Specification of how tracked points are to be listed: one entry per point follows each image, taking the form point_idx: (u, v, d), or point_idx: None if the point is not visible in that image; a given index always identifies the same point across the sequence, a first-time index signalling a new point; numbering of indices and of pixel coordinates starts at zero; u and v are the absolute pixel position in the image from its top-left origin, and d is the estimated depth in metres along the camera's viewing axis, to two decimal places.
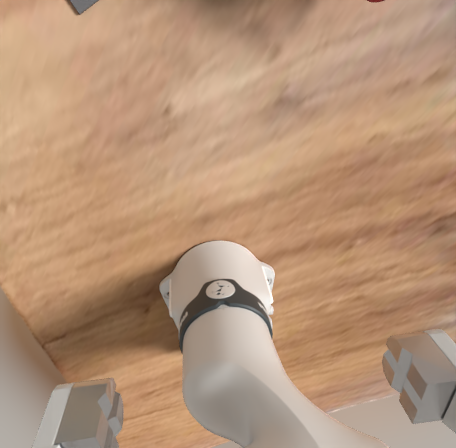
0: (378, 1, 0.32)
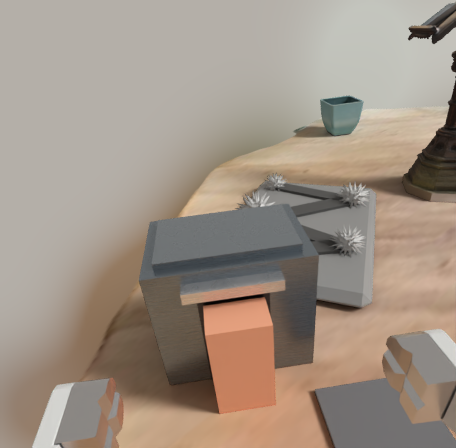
0: None
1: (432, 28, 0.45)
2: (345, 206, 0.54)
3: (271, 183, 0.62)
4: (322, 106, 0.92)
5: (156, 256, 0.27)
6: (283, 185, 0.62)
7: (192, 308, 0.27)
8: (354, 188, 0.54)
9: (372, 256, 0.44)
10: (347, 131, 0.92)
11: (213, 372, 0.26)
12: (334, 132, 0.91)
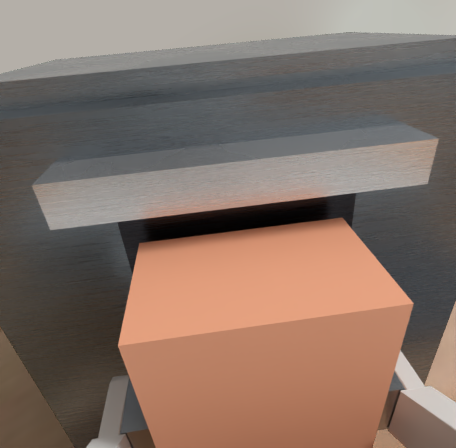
0: None
1: None
2: None
3: None
4: None
5: None
6: None
7: (109, 256, 0.09)
8: None
9: None
10: None
11: None
12: None
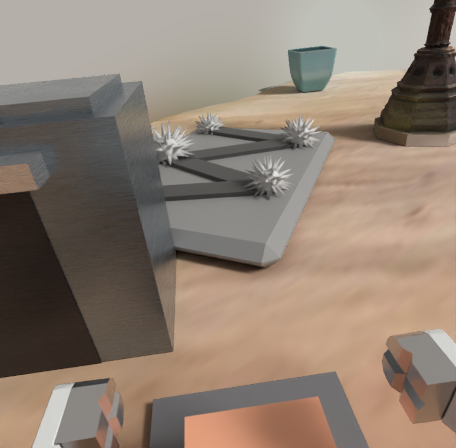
0: None
1: None
2: (286, 147, 0.40)
3: (203, 125, 0.49)
4: (290, 57, 0.79)
5: None
6: (219, 128, 0.49)
7: None
8: (299, 123, 0.40)
9: (303, 201, 0.30)
10: (319, 87, 0.78)
11: None
12: (303, 87, 0.78)
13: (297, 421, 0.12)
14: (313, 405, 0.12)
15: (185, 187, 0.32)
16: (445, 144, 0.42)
